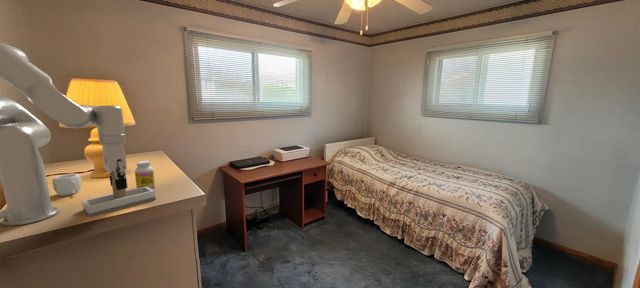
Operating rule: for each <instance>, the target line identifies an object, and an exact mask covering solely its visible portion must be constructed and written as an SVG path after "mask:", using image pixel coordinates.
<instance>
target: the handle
mask: <svg viewBox="0 0 640 288" xmlns="http://www.w3.org/2000/svg"><path fill="white" fill-rule="evenodd" d="M117 170H119V169H116V171H117ZM119 173H120V172H119ZM111 174H112V175H111V176H112V186H111V187H112V194H114V198H115V199H119V198H123V197H126V191H127V190H126V189H127V188H126V189H121V190H117V189H116V183H115V179H116V176H115V173H114V171H113V172H112V173H111ZM117 174H118V173H117Z"/></svg>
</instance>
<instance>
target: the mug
mask: <svg viewBox="0 0 640 288" xmlns="http://www.w3.org/2000/svg"><path fill="white" fill-rule="evenodd" d="M51 183H52V188H53V190H54V191H55V194H57V195H58V196H61V197H65V196H67V197H68V196H72V195H77V193H79V192H80V190H81V187H82V179H81V176H80V175H79V174H78V173H66V174H60V175H57V176H54V177H53V178H52V182H51Z"/></svg>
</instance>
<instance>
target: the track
mask: <svg viewBox="0 0 640 288" xmlns="http://www.w3.org/2000/svg"><path fill="white" fill-rule="evenodd" d="M156 199H157V198H156V191H155V189H154V190H152V189H151V188H149V187H147V186H145V187H141V188H137V187H136V188H132V189H129V190H126V197H123V198H119V199H115V198H114V194H113V193H111V194H110V193H109V194H106V195H101V196H96V197H93V198H88V199H83V200H81V201H82V209H83V212H85V214H87V216H88V217H95V216H98V215H102V214H106V213H110V212H113V211H117V210H121V209H125V208H127V207H132V206H135V205H136V206H137V205H139V204H144V203H148V202H150V201H151V202H152V201H154V200H156Z"/></svg>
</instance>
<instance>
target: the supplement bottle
mask: <svg viewBox="0 0 640 288" xmlns="http://www.w3.org/2000/svg"><path fill="white" fill-rule="evenodd" d="M150 161H151V160H140V161H138V162H136V166H137V168H135V169H134V176H135V185H136V188H141V187H145V186H147V187H149V188H151V189H152V190H154V191H155V190H156V184H155V175H154V174H155V172H154V168H153V167H152V166H151V162H150Z"/></svg>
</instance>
